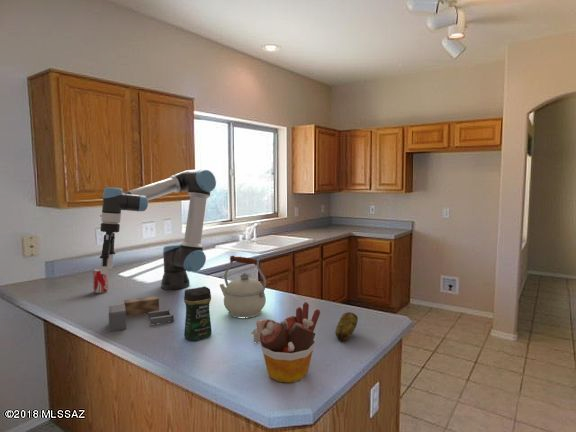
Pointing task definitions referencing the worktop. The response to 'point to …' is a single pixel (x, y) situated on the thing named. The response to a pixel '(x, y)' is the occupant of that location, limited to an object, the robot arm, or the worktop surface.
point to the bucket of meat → (288, 345)
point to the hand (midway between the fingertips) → (106, 271)
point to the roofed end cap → (117, 317)
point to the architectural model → (256, 335)
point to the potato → (346, 326)
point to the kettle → (244, 292)
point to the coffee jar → (197, 313)
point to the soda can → (100, 281)
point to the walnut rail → (141, 305)
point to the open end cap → (161, 316)
